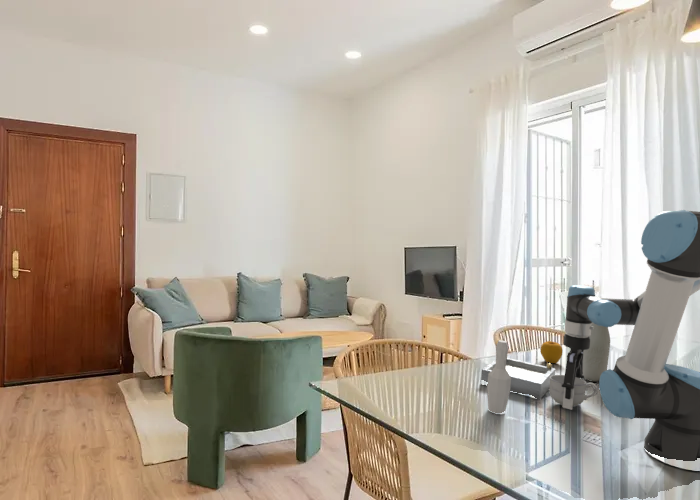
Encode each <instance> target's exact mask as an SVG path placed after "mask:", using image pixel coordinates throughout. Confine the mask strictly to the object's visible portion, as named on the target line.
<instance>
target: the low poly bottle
mask: <svg viewBox="0 0 700 500" xmlns="http://www.w3.org/2000/svg"><path fill="white" fill-rule="evenodd" d="M508 352H509V346H508V342H507V341H506V340H503V339H502V340H501V339H500V340H498V341H497V343H496V346H495V360H496V363H495V368H494V369H493V370H492V371H491V372H490V373H489V374H488V384H487V386H486V387H487V388H486V391H487V392H486V393H487V407H488V408H487V409H489V410H490V411H492V412H495V413H502V412H504V411H505V412H506V409H507V405H508V402H509V398H510V393H511V392H510V385H511V377H510V375H509V374H508V372H507V370H506V358H508ZM489 410H488V411H489Z"/></svg>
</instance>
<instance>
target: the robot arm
mask: <svg viewBox="0 0 700 500" xmlns="http://www.w3.org/2000/svg"><path fill="white" fill-rule="evenodd" d="M641 235H642V236H641V240H640V243H641V245H642V247H641V251H642V253H643V256H644V257H645V258H646V264H647V266H648V267H649V269H650V270H651V271H650V275H649V278H648V281H647V284H646V288H645V291H643V292H642V293H641V294H640V295H638V296H637V297H635V298H634V299H630V298H629V299H627V298H607V297H606V298H603V297H599V296H596V290H595V288H594V287H592V286H589V285H588V286H587V285H582V284H581V285H579V284H574V285H570V286H569V287H568V294H567V296H566V310H565V318H564V320H565V322H564V333H565V334H564V336H563V345H564V346H565V347H566V348H569V349H570V350H569V352H567V355H566V364H565V369H564V375H565V377H564V383H563V384H562V387H564V395H563V405H561V406H562V408H563V409H567V410H572V411H573V407H574V406H573V396H574V382H575V377H577V378H580V379H583V380H584V376H583V375H582V374H583V352H584V350H587V349H589V348H590V337H589V336H590V335H591V330H593V329H594V328H593V326H591V325H592V322H593V323H594V324H597V325H599V326H604V327H608V328H612V327H614V326H616V325H617V326H634V327H633V329H632V330H633V331H632V333H631V335H630V340H629V341H628V342H629V343H628V346H627V350H626V353H625V355H622V356H620V357H618V358H617V359H616V361H615V364H614V368H613V369H608V368H607V370H606V371H604V372H603V373H602V374H601V376H600V380H599V381H598V382H599V385H598V386H599V393H600V396H601V399H602V402H603V404H604V406H605V408H606V409H607V410H608V411H609V413H610V414H612V415H613V416H615V417H617V418H623V419H625V418H626V419H630V420H632V419H645V420H646V419H650V420H653V419H654V423H652V425H651V427H650V429H649V431H648V433H647V435H646V436H645V438H644V443H643V449H644V448H645V449H646V450H647V451H648V452H650V453H651V454H655V455H658V456H660V457H664V458H667V459H676V460H683V461H695V460H697V458H700V371H697V370H695V369H691V368H688V367H684V366H680V365H676V364H671V363H667V361H668V359H669V356H670V354H671V350H672V347H673V345H674V342H675V339H676V336H677V334H678V331H679V327H680V324H681V323H682V319H683V316H684V313H685V310H686V307H687V305H688V301H689V299H690V296H692V295H694V294H695V293H697V292H698V291H700V211H693V210H685V209H683V210H682V209H681V210H680V209H679V210H666V211H665V210H664V211H662V212H660V213H658V214H656V215H654V216H653V217H652V218H651V219H650V220H649V221H648V222H647V224H646V225H645V226H644V230H643V231H642V234H641ZM567 383H569V384H567ZM645 449H644V450H645Z"/></svg>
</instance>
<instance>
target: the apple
mask: <svg viewBox="0 0 700 500" xmlns="http://www.w3.org/2000/svg"><path fill="white" fill-rule="evenodd" d="M540 354H541V356H542V358H543V359H544V360H545V362H546V363H548V362H549V363H556V364H557V363H559V362H560V360H561V358H562V357H563V346H562V345H561V344H560V343H558V342H556V341H549V340H547V341H544V342H543V343H542V344H541V346H540Z"/></svg>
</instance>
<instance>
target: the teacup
mask: <svg viewBox="0 0 700 500" xmlns="http://www.w3.org/2000/svg"><path fill="white" fill-rule="evenodd" d="M564 377H565V374H555V375H552V376H550V388H549V390H548V391H549V396H550V398H551V399H552V400H553V401H554V402H555V403H556V404H558V405H560V406H563V395H564V387H562V384H563V383H564ZM567 384H569V383H567ZM589 387H593V390H592V392H590V393H589V394H586V391H588V388H589ZM597 393H598V387H597V385H596V384H595V383H593V382H587V381H586V380H584V379H582V378H577V377H575V382H574V396H573V407H578V406H580V405H581V404H582V403H584V402H585V401H586V400H588V399H589V398H592V397H594V396H596V395H597Z"/></svg>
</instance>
